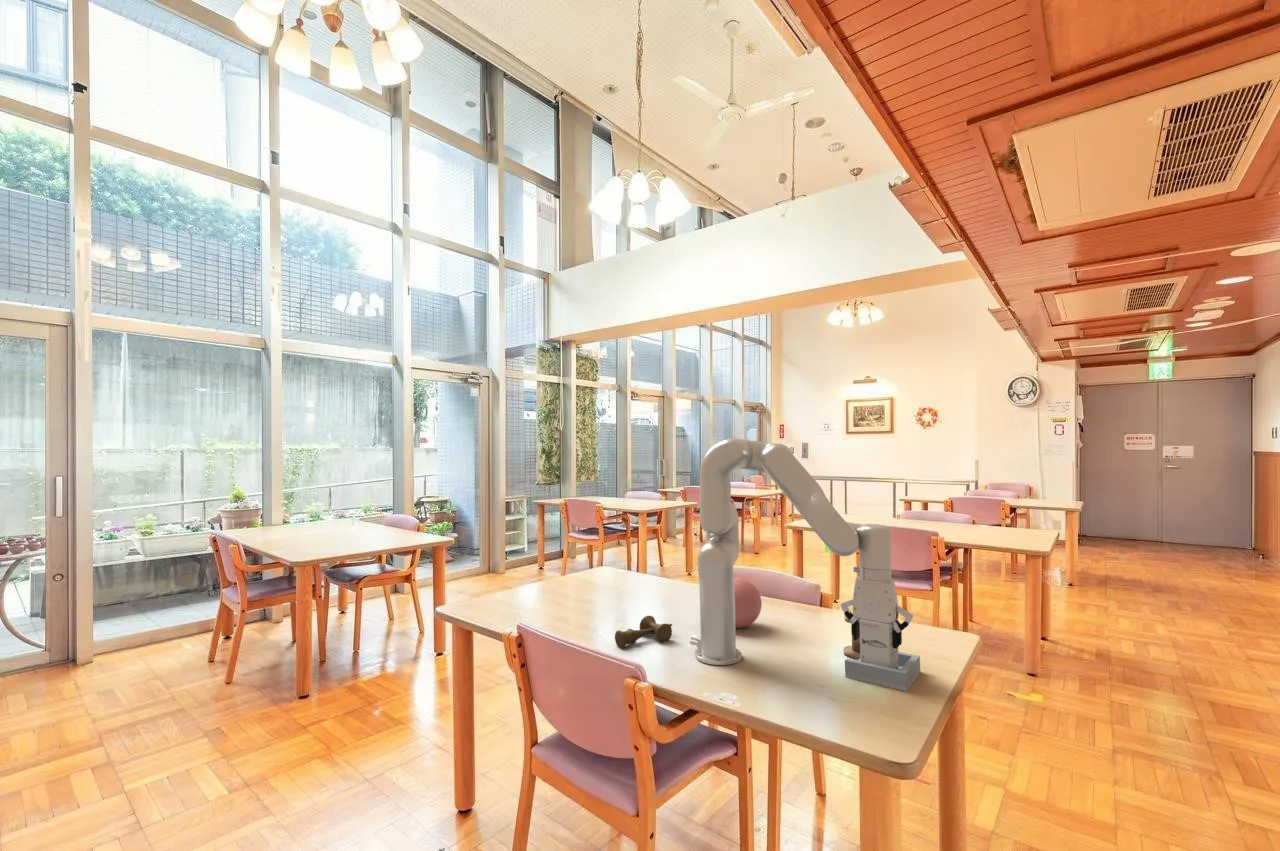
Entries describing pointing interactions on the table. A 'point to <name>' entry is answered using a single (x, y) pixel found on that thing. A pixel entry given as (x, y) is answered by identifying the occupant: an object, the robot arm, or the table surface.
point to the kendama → (644, 632)
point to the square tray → (886, 672)
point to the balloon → (746, 603)
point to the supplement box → (877, 644)
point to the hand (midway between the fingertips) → (876, 642)
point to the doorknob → (853, 646)
